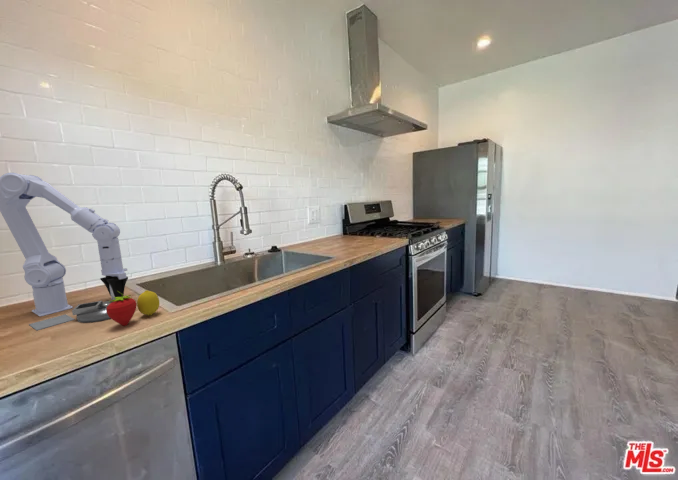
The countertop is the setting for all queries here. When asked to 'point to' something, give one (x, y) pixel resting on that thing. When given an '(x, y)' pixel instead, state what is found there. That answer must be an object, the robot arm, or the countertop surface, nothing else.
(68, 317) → the mat
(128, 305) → the strawberry
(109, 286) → the key
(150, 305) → the lemon
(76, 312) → the grey rounded hollow piece
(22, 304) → the countertop surface
